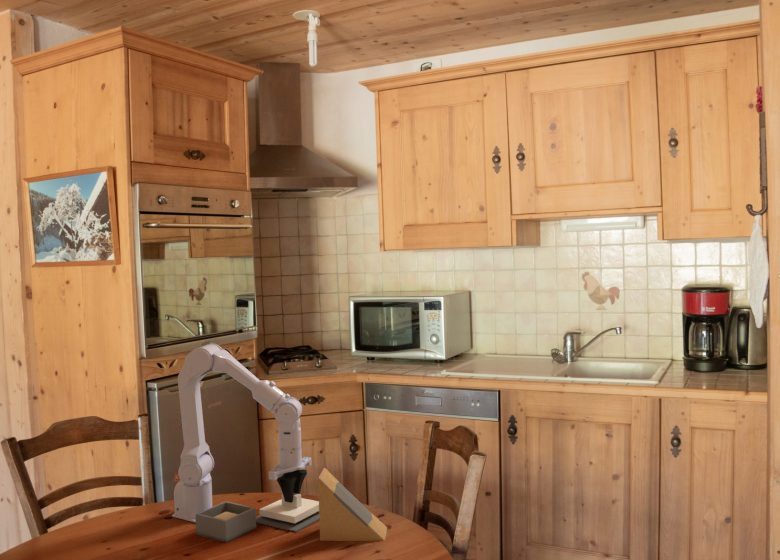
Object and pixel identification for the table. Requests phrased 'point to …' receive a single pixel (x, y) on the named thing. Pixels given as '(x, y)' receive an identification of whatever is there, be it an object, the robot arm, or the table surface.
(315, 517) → the mat
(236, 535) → the storage box
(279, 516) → the lid
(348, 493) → the sandwich container
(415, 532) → the table surface
